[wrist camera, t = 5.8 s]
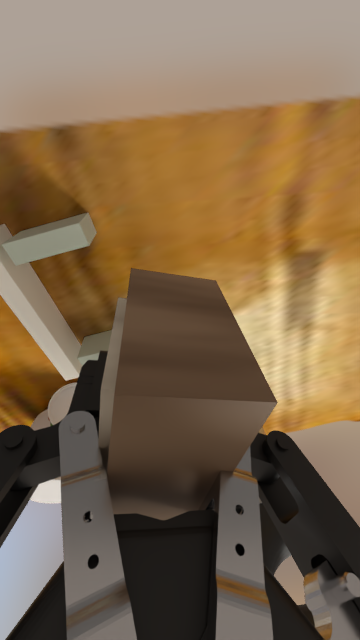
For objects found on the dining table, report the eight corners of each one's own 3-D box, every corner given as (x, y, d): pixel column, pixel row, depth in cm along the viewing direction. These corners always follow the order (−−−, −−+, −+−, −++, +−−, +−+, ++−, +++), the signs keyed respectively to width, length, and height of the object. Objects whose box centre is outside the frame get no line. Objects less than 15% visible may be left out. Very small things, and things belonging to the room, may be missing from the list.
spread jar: (54, 431, 44) (29, 510, 34) (17, 390, 37) (-27, 474, 28) (121, 416, 44) (114, 493, 34) (95, 373, 37) (77, 452, 28)
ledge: (142, 340, 34) (142, 361, 31) (73, 358, 35) (65, 380, 32) (83, 201, 24) (73, 210, 21) (-15, 229, 24) (-40, 242, 21)
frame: (175, 411, 17) (189, 540, 12) (110, 408, 17) (91, 547, 11) (215, 280, 12) (277, 402, 6) (122, 267, 11) (95, 393, 5)
